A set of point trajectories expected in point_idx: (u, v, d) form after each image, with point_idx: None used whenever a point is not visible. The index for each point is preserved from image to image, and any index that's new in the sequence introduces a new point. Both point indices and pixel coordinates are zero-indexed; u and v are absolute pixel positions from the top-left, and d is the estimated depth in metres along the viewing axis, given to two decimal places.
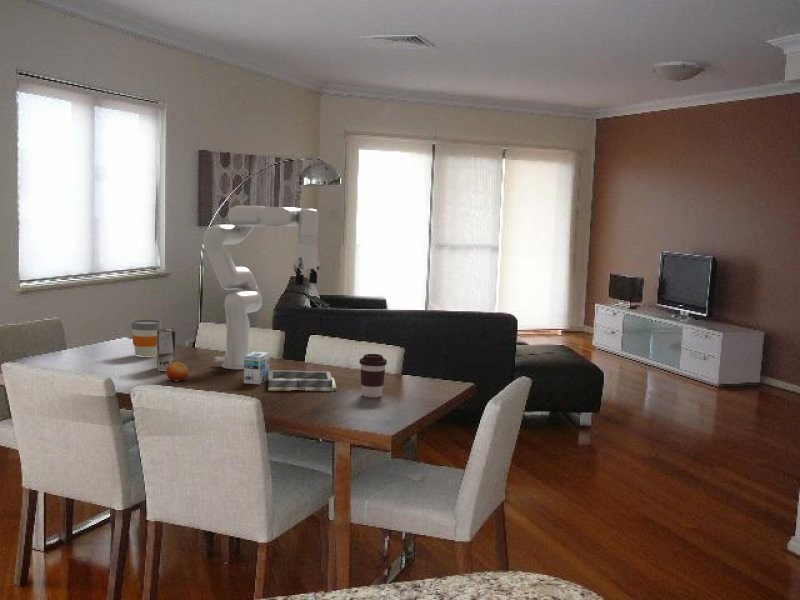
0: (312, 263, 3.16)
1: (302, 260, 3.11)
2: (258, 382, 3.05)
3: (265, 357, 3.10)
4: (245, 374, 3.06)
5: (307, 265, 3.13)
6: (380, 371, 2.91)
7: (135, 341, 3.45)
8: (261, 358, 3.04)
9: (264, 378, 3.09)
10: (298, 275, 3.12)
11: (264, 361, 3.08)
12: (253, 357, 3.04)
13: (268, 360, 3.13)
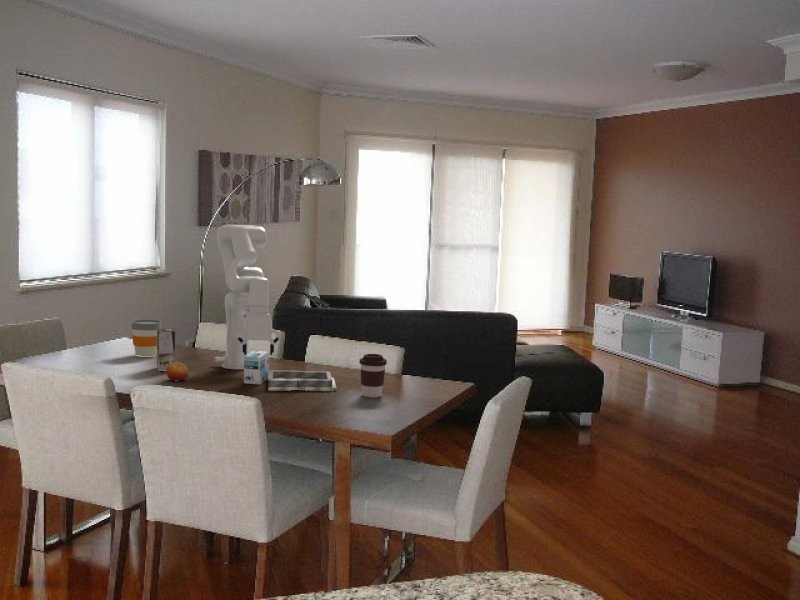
0: None
1: None
2: (258, 382, 3.05)
3: (265, 357, 3.09)
4: (245, 374, 3.05)
5: None
6: (380, 371, 2.91)
7: (135, 341, 3.45)
8: (260, 358, 3.04)
9: (264, 378, 3.09)
10: None
11: (264, 361, 3.08)
12: (253, 357, 3.04)
13: (267, 359, 3.12)
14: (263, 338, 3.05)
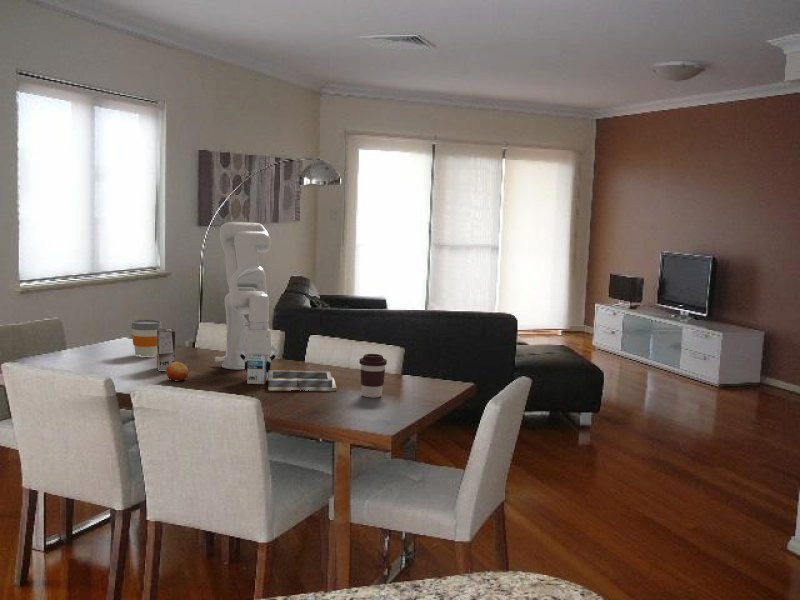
0: None
1: None
2: (262, 382, 3.05)
3: None
4: (248, 374, 3.05)
5: None
6: (380, 371, 2.91)
7: (135, 341, 3.45)
8: (264, 357, 3.05)
9: (266, 377, 3.10)
10: (270, 362, 3.10)
11: None
12: (257, 357, 3.04)
13: None
14: (263, 354, 3.07)
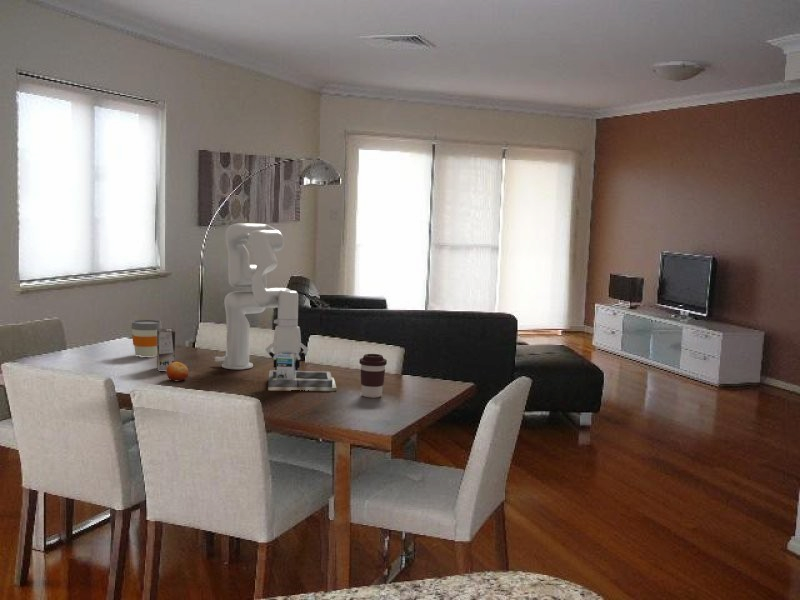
0: None
1: None
2: None
3: None
4: (278, 372, 3.01)
5: None
6: (380, 371, 2.91)
7: (135, 341, 3.45)
8: (294, 355, 3.01)
9: None
10: (299, 360, 3.06)
11: None
12: (286, 355, 3.00)
13: None
14: (292, 352, 3.02)
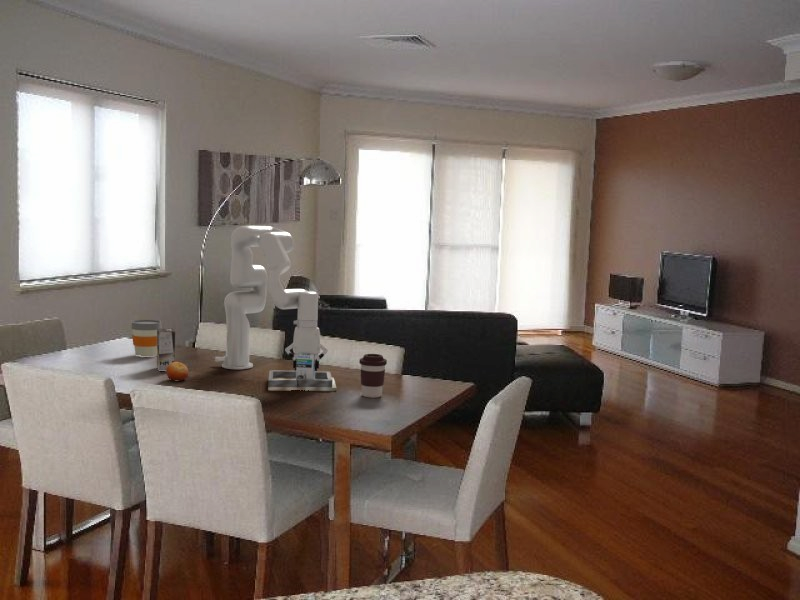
0: None
1: None
2: None
3: (314, 355, 3.07)
4: (297, 373, 3.02)
5: None
6: (380, 371, 2.91)
7: (135, 341, 3.45)
8: (314, 356, 3.02)
9: (314, 376, 3.07)
10: (318, 360, 3.07)
11: (314, 359, 3.06)
12: (306, 356, 3.01)
13: (315, 358, 3.10)
14: (311, 352, 3.03)
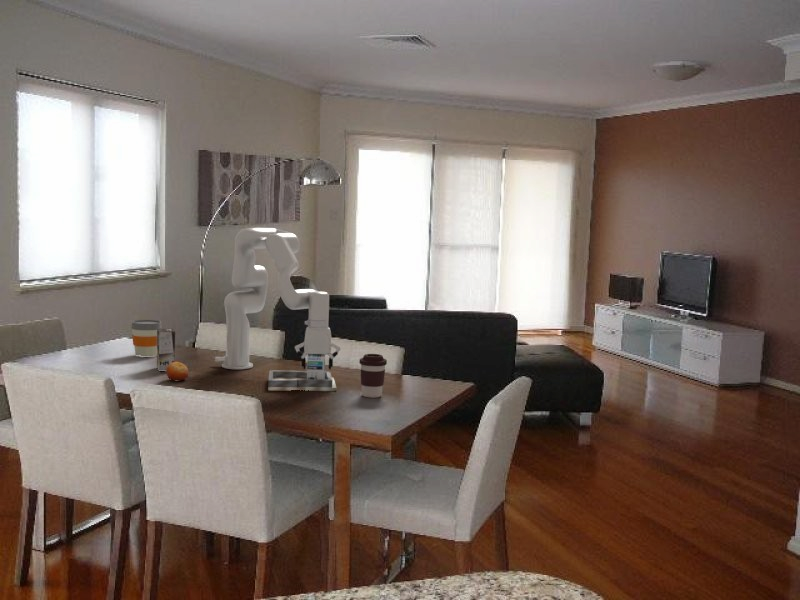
0: None
1: None
2: None
3: None
4: (308, 375, 3.02)
5: None
6: (380, 371, 2.91)
7: (135, 341, 3.45)
8: (324, 358, 3.03)
9: None
10: (332, 359, 3.08)
11: None
12: (317, 358, 3.02)
13: None
14: (323, 352, 3.04)
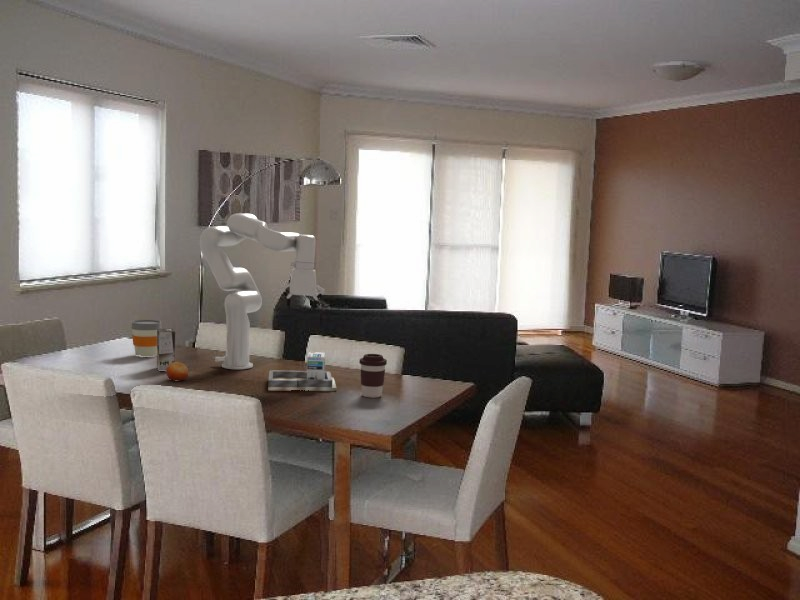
0: None
1: None
2: None
3: None
4: (308, 375, 3.02)
5: None
6: (380, 371, 2.91)
7: (135, 341, 3.45)
8: (324, 358, 3.03)
9: None
10: None
11: None
12: (317, 358, 3.02)
13: None
14: (307, 293, 3.16)
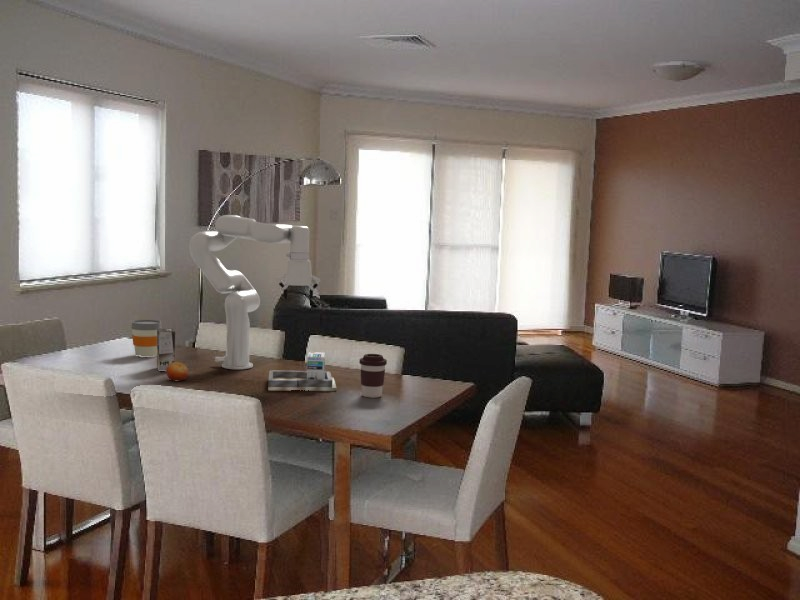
0: None
1: None
2: None
3: None
4: (308, 375, 3.02)
5: None
6: (380, 371, 2.91)
7: (135, 341, 3.45)
8: (324, 358, 3.03)
9: None
10: None
11: None
12: (317, 358, 3.02)
13: None
14: (303, 283, 3.21)
